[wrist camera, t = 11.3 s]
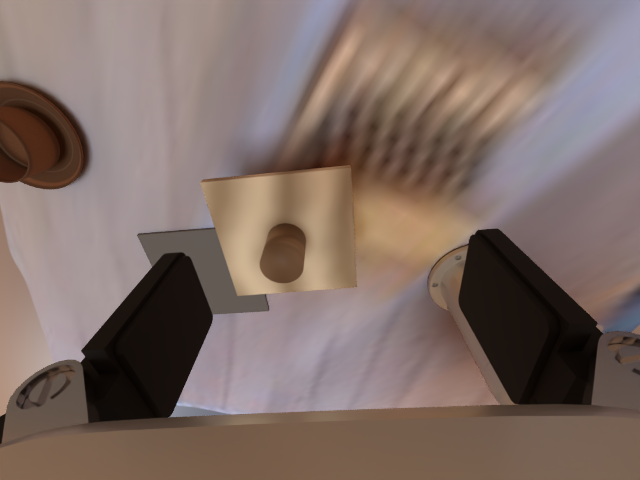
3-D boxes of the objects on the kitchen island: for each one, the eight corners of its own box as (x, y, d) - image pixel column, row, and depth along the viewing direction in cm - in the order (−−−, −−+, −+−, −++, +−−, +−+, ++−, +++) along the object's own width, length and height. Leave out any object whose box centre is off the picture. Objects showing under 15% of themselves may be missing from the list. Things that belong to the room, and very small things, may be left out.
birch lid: (350, 165, 27) (356, 186, 23) (356, 282, 34) (361, 316, 30) (203, 179, 28) (180, 202, 24) (239, 291, 35) (226, 325, 31)
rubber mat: (248, 225, 41) (247, 226, 41) (269, 309, 49) (268, 310, 49) (138, 233, 42) (137, 235, 42) (176, 314, 50) (175, 316, 50)
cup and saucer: (-21, 149, 37) (-80, 163, 31) (-13, 55, 31) (-81, 52, 26) (80, 200, 40) (43, 221, 35) (103, 123, 35) (62, 133, 29)
